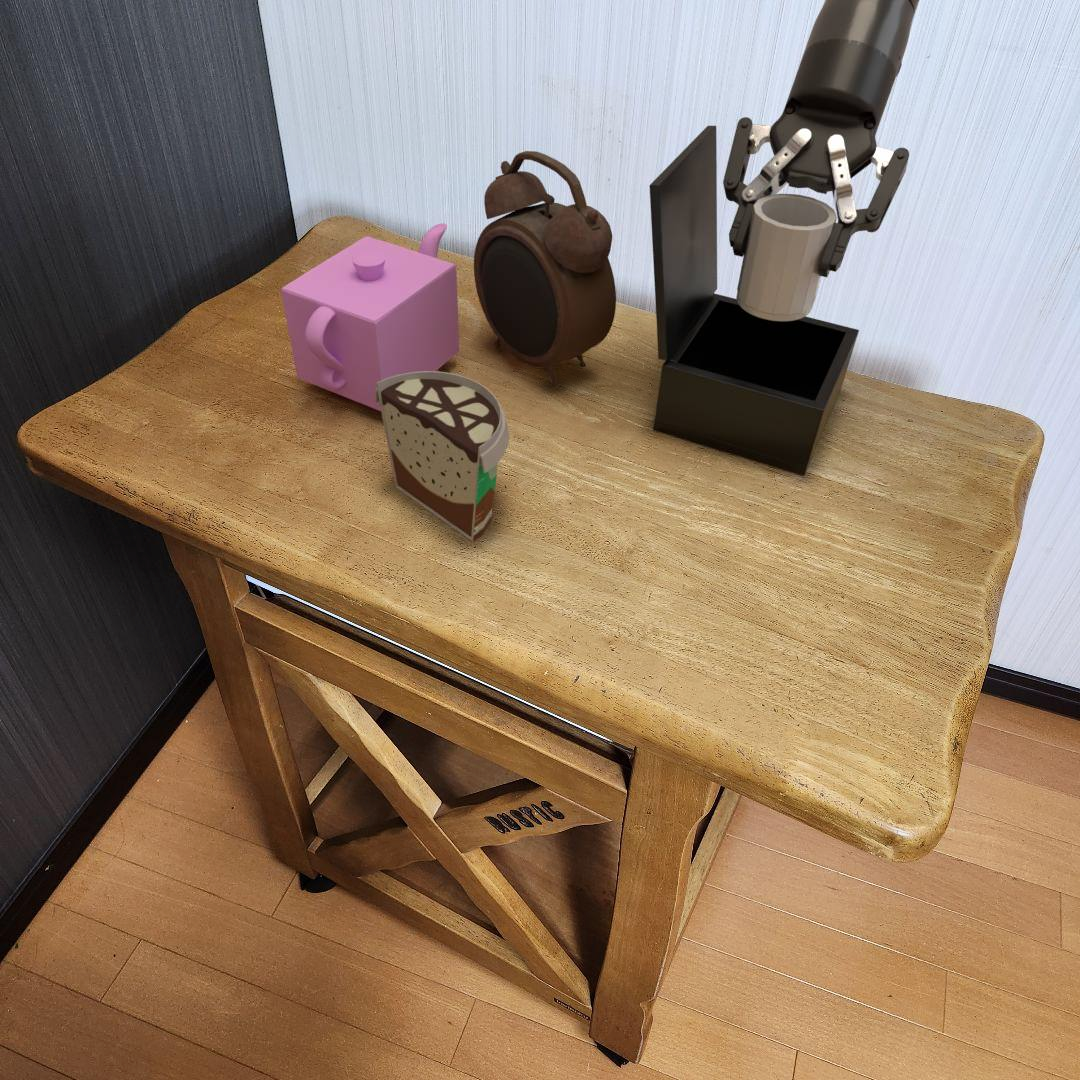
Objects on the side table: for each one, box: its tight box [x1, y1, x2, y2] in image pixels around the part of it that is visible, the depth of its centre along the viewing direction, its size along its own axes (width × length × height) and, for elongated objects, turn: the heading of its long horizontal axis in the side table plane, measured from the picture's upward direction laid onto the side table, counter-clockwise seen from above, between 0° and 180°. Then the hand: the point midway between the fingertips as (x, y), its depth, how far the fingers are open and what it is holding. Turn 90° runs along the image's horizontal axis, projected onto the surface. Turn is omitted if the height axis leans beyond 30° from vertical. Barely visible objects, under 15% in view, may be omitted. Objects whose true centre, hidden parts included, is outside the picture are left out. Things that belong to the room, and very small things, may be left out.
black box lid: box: [649, 125, 718, 361], centre depth 77 cm, size 15×14×1 cm
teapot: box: [280, 222, 460, 412], centre depth 84 cm, size 20×10×13 cm, turn 150°
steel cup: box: [735, 193, 838, 321], centre depth 75 cm, size 6×6×8 cm
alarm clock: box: [473, 150, 617, 388], centre depth 83 cm, size 15×7×20 cm, turn 41°
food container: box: [375, 371, 510, 543], centre depth 72 cm, size 12×6×10 cm, turn 47°
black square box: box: [652, 293, 860, 477], centre depth 83 cm, size 14×14×7 cm
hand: (780, 262), depth 73 cm, fingers closed on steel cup, 6 cm apart
